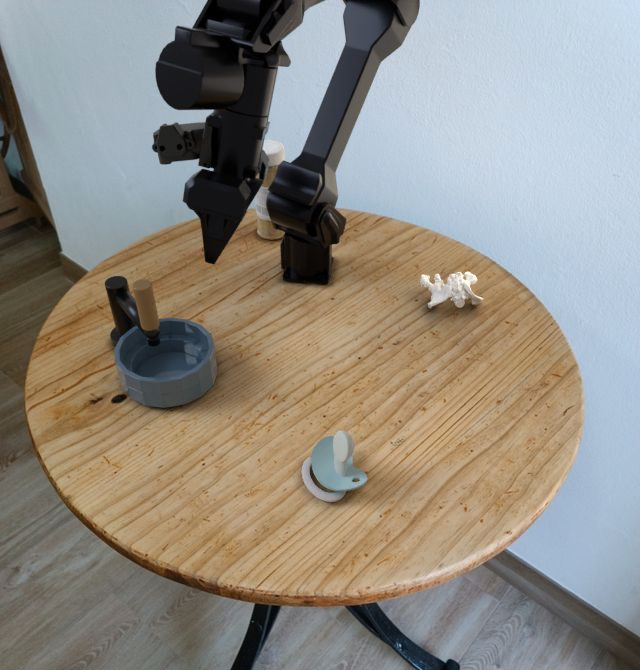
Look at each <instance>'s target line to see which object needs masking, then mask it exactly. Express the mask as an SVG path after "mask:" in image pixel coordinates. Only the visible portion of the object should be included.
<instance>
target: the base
mask: <svg viewBox="0 0 640 670" xmlns="http://www.w3.org/2000/svg"><path fill="white" fill-rule="evenodd" d="M109 338H110V340H111V345H112V346H113V348H115V347H116V345H117V343H118V341H119V339H120V337H119V336H118V335H117V331H116V327H113V328H112V329H111V331H110V334H109Z"/></svg>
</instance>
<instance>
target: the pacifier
mask: <svg viewBox="0 0 640 670" xmlns="http://www.w3.org/2000/svg"><path fill="white" fill-rule="evenodd" d="M354 451H355V440H354V438H353V437H352V435H351V434H350V433H349V432H347V431H346V430H338V431H336V432H335V434H334V435H328V436H325V437H323V438H321V439H320V440H319V441H317V442H316V444H315V445H314V446H313V448H312V451H311V454H310V455H311V456H308V457H307V458H306V459H305V460H304V461H303V463H302V466H301V478H302V481H303V483H304V485H305V487H306V488H307V490H308V491H309V493H310V494H312V495H313V496H314V497H316V498H317V499H318V500H321V501H324V502H327V503H335V502H338V501H340V500H342V499H343V497H344V496H345V495H346V493H347V492H349V491H353V490H357V489H360V488H362V487H363V486H364V485H365V484H366V483H367V481H368V475H367V473H366V472H365V471H363V469H361V468H359V467H356V466H354V465H353V462H354V456H353V454H354ZM311 469H312V472H313V474H314V477H315V478H316V480H317V481H318V483H320V485H321V486H322V487H324V488H326V489H328V490H330V491H333V492H326V491H324V490H322V489H321V488H319V487H318V486H317V485H316V484H315V482H314V480H313V479H312V476H311ZM353 480H358V481H353Z"/></svg>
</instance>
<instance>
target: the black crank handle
mask: <svg viewBox="0 0 640 670" xmlns="http://www.w3.org/2000/svg"><path fill="white" fill-rule="evenodd" d="M131 287H132V291H133V295H134V296H133V295H132V294H131V291H130V287H129V282H128V279H127V278H126V277H125V276H122V275H113V276H110V277H108V278H107V279H106V280H105V281H104V288H105V291H106V294H107V299H108V303H109V307H110V311H111V315H112V319H113V323H114V326H115V327H116V331H117V335H118V336H119V337H120V338H121V337H122V336H123V335H124V334H125V333H127V332H128V331H129V330H130V329H132V328H133V327H135V326H137V327H138V328H139V329H140V330H141V331H142V333H143V334H144V335H145V336H146V337H147V342H148V345H149V346H152V347H155V346H158V345H159V344H160V337H159V334H160V328H159V325H160V323H159V319H160V318H159V313H158V309H157V303H156V298H155V293H154V292H155V291H154V288H153V283H152V281H151V280H150V279H147V278H141V279H137V280H135V281H134V282H133V283H132V286H131ZM115 327H114V328H115Z"/></svg>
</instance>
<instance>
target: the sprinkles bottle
mask: <svg viewBox="0 0 640 670" xmlns="http://www.w3.org/2000/svg"><path fill="white" fill-rule="evenodd" d="M262 150H264V151H265V153H266V155H267V156H268V158H269V160H270V161H269V166H268V171H267V175H266V177H265V179H264V182H263V184H262V186H261V188H260V189H259V191H258V193H257V194H256V196H255V198H254V199H255V213H256V214H255V215H256V220H257V229H256V233H257V235H258V236H259V237H260V238H262V239H266V240H271V241H273V240H278V239H282V238H283V235H284V234H285V232H283V231H280V230H276V229H274V228H273V225H272V222H271V220H270V217H269V213H268V211H267V207H266V199H267V195H268V193H269V191H268V188H269V187H270V185H271V184H272V182H273V180H274V178H275V175H276V171H277V168H278V166H279V164H280V163H281V162H282V161H286V160H285V159H286V151H285V146H284V144H283V143H282V142H280V141H278V140H274V139H264V144H263V149H262ZM256 178H259V173H258V175H257V176H256Z"/></svg>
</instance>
